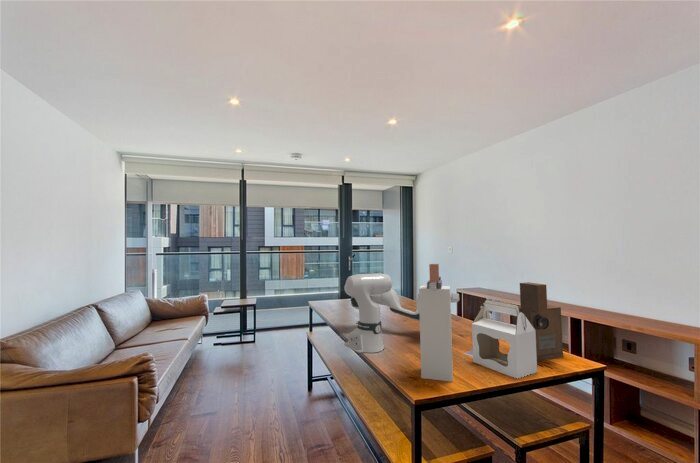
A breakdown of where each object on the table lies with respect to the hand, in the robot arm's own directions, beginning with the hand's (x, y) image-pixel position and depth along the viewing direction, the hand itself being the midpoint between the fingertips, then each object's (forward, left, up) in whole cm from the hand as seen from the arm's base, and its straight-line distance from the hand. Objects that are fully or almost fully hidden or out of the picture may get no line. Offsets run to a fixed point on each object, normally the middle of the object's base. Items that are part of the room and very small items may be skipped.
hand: (438, 293), depth 166 cm
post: (+18, -31, -28) cm, 45 cm away
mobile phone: (+17, +7, -29) cm, 34 cm away
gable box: (+33, -3, -28) cm, 44 cm away
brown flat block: (+18, -30, +8) cm, 35 cm away
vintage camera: (+39, +21, -28) cm, 53 cm away
